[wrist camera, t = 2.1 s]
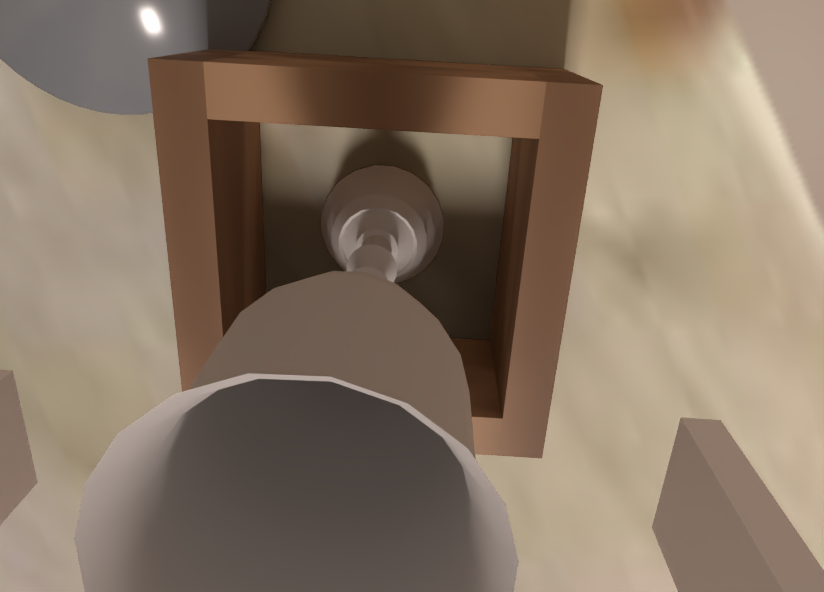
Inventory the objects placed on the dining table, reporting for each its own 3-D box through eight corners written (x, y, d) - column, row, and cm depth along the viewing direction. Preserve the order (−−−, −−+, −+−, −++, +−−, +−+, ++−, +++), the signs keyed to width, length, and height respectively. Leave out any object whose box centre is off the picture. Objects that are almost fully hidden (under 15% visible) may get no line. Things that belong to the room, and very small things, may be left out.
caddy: (233, 356, 29) (186, 435, 24) (213, 48, 24) (147, 58, 18) (521, 374, 29) (542, 458, 24) (563, 69, 24) (602, 85, 18)
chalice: (312, 120, 25) (72, 327, 8) (484, 156, 25) (579, 423, 9) (289, 291, 28) (76, 695, 11) (443, 321, 28) (457, 757, 12)
